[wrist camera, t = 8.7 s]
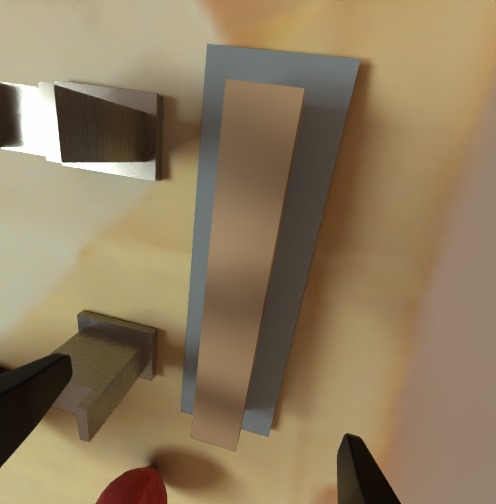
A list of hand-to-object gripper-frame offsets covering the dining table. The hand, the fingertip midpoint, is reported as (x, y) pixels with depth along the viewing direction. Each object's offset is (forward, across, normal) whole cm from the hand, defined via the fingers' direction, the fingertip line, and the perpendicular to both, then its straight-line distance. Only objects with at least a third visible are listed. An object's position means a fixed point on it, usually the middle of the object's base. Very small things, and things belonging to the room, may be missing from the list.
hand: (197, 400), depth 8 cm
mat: (+9, 0, 0) cm, 9 cm away
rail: (+8, 0, 0) cm, 8 cm away
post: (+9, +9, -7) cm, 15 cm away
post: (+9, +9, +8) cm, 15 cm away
